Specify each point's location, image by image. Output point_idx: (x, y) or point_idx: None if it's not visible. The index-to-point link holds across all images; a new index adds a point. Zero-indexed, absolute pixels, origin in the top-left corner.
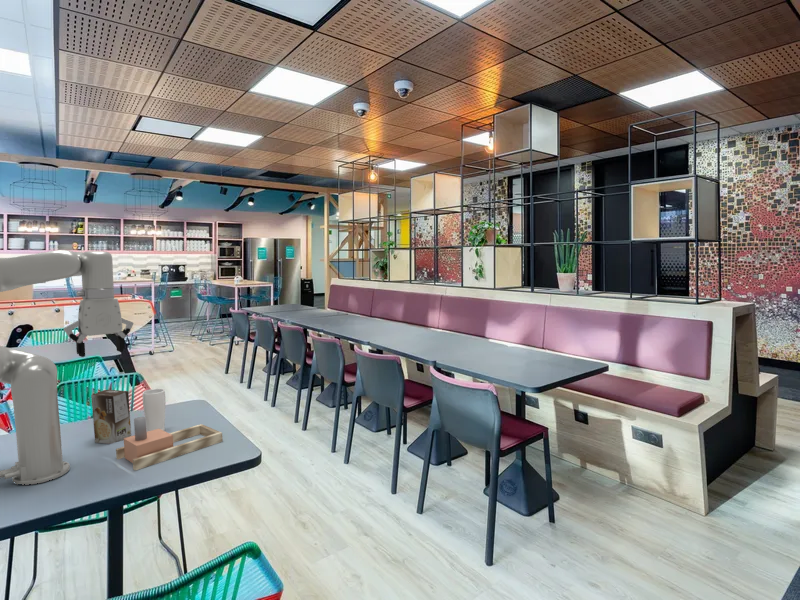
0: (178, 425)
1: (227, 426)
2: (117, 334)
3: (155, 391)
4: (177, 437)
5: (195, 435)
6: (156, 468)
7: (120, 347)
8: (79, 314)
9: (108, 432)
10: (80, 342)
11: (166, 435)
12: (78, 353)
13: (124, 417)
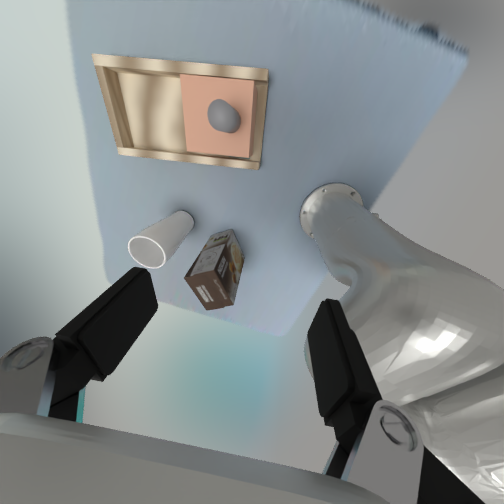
0: None
1: (89, 154)
2: (71, 405)
3: (144, 261)
4: (167, 151)
5: (141, 148)
6: None
7: (130, 285)
8: None
9: (234, 247)
10: (381, 405)
11: (189, 87)
12: (351, 329)
13: (209, 249)
